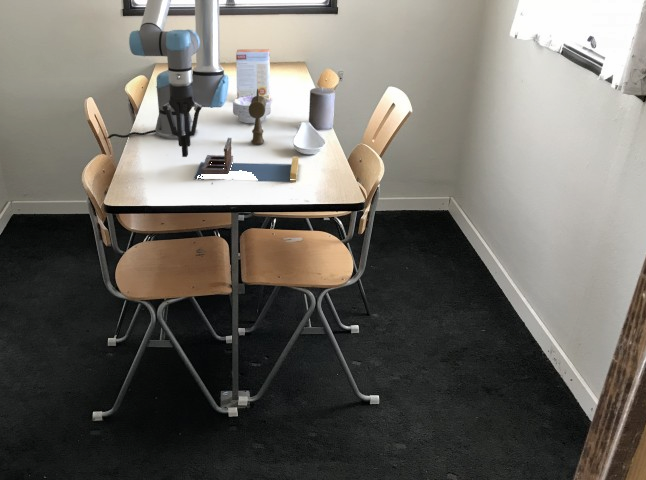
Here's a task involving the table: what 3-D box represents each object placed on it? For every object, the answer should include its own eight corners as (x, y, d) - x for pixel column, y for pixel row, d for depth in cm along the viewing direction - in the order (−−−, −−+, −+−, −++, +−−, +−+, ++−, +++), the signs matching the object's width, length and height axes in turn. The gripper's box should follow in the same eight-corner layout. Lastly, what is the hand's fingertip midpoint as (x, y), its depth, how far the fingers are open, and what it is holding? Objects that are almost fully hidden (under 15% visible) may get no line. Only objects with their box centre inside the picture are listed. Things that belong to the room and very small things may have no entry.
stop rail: (290, 181, 231) (290, 173, 230) (292, 164, 245) (292, 156, 243) (296, 182, 231) (296, 173, 230) (298, 164, 244) (298, 156, 243)
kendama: (248, 147, 260) (248, 92, 249) (250, 139, 268) (250, 84, 257) (265, 148, 260) (265, 92, 248) (266, 139, 268) (266, 85, 256)
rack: (201, 178, 235) (199, 149, 230) (207, 163, 247) (206, 135, 241) (228, 179, 234) (227, 150, 229) (233, 164, 246) (232, 136, 240)
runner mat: (193, 180, 235) (193, 179, 235) (200, 163, 248) (200, 162, 248) (296, 183, 231) (296, 182, 231) (298, 165, 245) (298, 164, 244)
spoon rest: (328, 157, 250) (329, 137, 246) (295, 159, 250) (295, 139, 246) (316, 135, 270) (317, 117, 266) (286, 137, 269) (286, 118, 265)
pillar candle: (303, 126, 280) (304, 87, 271) (319, 120, 285) (321, 82, 277) (322, 131, 274) (324, 92, 265) (338, 126, 280) (340, 87, 271)
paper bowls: (248, 112, 296) (248, 93, 292) (278, 119, 288) (278, 99, 284) (225, 121, 287) (224, 101, 282) (254, 128, 278) (254, 108, 274)
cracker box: (269, 98, 312) (270, 48, 301) (268, 102, 307) (269, 51, 296) (238, 98, 314) (237, 48, 302) (236, 102, 309) (235, 51, 297)
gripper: (158, 86, 223) (163, 158, 236) (199, 86, 222) (202, 159, 235) (163, 80, 229) (168, 151, 242) (202, 80, 228) (206, 152, 241)
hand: (185, 155), depth 238 cm, fingers closed
